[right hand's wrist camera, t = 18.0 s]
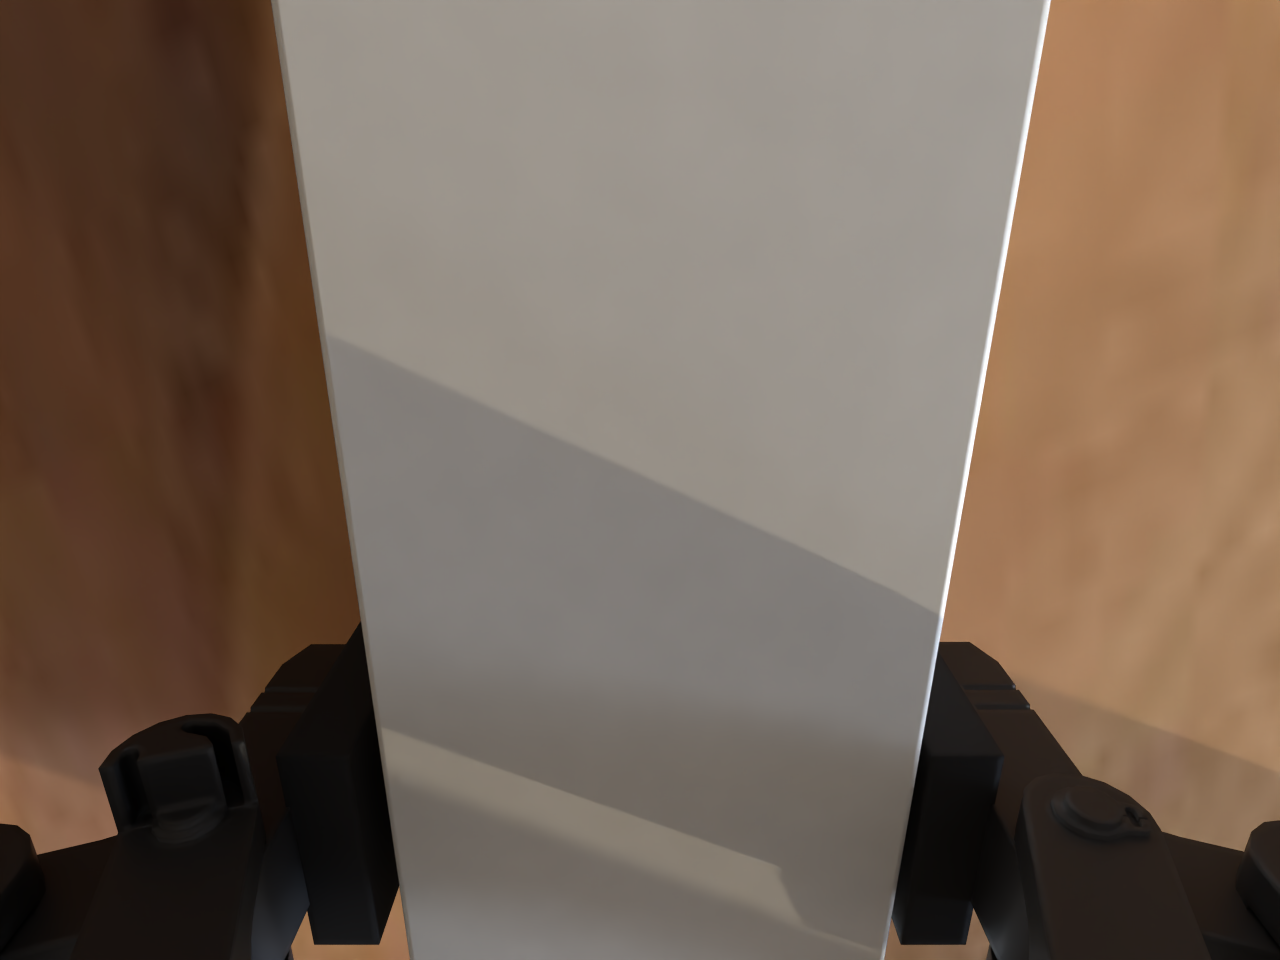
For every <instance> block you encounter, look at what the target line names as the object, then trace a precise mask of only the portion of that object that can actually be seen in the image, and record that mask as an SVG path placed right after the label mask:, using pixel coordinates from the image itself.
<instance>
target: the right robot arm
mask: <svg viewBox="0 0 1280 960" xmlns="http://www.w3.org/2000/svg"><path fill="white" fill-rule="evenodd" d="M99 772H100V775H101V778H102V781H103V785H104V788H105V791H106V794H107V797H108V801H109V804H110V807H111V810H112V814H113V817H114V820H115V823H116V827H117V830H118V835H116V836H113V837H109V838H106V839H103V840H99V841H95V842H91V843H86V844H82V845H78V846H73V847H69V848H65V849H60V850H56V851H52V852H47V853H43V854H39V855H37V854H36V851H35V848H34V845H33V843H32V840H31V837H30V835H29V834H28V833H26V832H25V831H24V830H23V829H21V828H20V827H19V826H17V825H9V824H0V960H294V958H293V954H292V949H291V945H292V942H293V940H294V938H295V936H296V934H297V931H298V929H299V927H300V925H301V923H302V920H303V918H304V916H305V914H306V912H308V917H309V921H310V926H311V931H312V936H313V941H314V945H379V943H380V940H381V938H382V935H383V932H384V929H385V926H386V923H387V920H388V917H389V914H390V911H391V908H392V905H393V902H394V899H395V896H396V894H397V891H398V888H399V879H398V872H397V865H396V858H395V851H394V845H393V838H392V831H391V824H390V817H389V810H388V803H387V796H386V789H385V782H384V776H383V769H382V762H381V755H380V748H379V741H378V734H377V727H376V720H375V714H374V707H373V700H372V693H371V686H370V679H369V672H368V665H367V658H366V651H365V645H364V638H363V631H362V624H361V622H360V623H359V625H358V626H357V628H356V630H355V631H354V633H353V634H352V636H351V638H350V639H349V641H348V642H347V644H311V645H310V646H308V647H307V648H305V649H304V650H302V651H301V652H300V653H298V654H297V655H295V656H294V657H292V658H291V659H290V660H288V661H287V662H285V663H284V664H282V666H281V667H280V668H279V670H278V671H277V672H276V674H275V675H274V677H273V678H272V679H271V681H270V682H269V683H268V685H267V686H266V687H265V693H261V694H260V696H259V697H258V698H257V700H256V701H255V702H254V704H253V705H252V706H251V711H250V712H247V713H246V715H245V716H244V717H243V719H242V720H241V721H240V723H239V724H238V723H237V722H235V721H234V720H233V719H232V718H230V717H226V716H221V715H216V714H196V715H185V716H182V717H178V718H174V719H171V720H167V721H163V722H160V723H157V724H155V725H153V726H151V727H149V728H147V729H145V730H143V731H141V732H138V733H136V734H134V735H132V736H131V737H130V738H128V739H127V740H126V741H124V742H123V743H122V744H120V745H119V746H118V747H116V748H115V749H114V750H112V751H111V753H110V754H109V755H108V757H107V758H106V759H105V761H104V762H103V763H102V765H101V766H100V767H99ZM973 908H974V910H975V912H976V914H977V916H978V919H979V921H980V923H981V925H982V927H983V930H984V932H985V934H986V936H987V938H988V940H989V943H990V945H989V949H988V954H987V958H986V960H1280V821H1270V822H1264V823H1262V824H1261V825H1260V826H1258V827H1257V828H1256V829H1254V830H1253V831H1252V832H1251V835H1250V837H1249V840H1248V843H1247V846H1246V848H1245V851H1244V852H1243V851H1238V850H1234V849H1230V848H1225V847H1221V846H1217V845H1212V844H1208V843H1204V842H1199V841H1195V840H1191V839H1186V838H1182V837H1178V836H1175V835H1172V834H1168V833H1165V832H1162V831H1161V829H1160V828H1159V826H1158V825H1157V823H1156V822H1155V820H1154V819H1153V817H1152V816H1151V814H1150V813H1149V812H1148V811H1147V810H1146V809H1144V808H1143V807H1142V806H1141V805H1140V804H1139V803H1137V802H1136V801H1135V800H1134V799H1133V798H1131V797H1130V796H1129V795H1127V794H1125V793H1123V792H1121V791H1120V790H1118V789H1116V788H1114V787H1112V786H1110V785H1108V784H1106V783H1104V782H1101V781H1098V780H1095V779H1091V778H1088V777H1085V776H1082V774H1081V773H1080V772H1079V770H1078V769H1077V768H1076V766H1075V765H1074V764H1073V762H1072V761H1071V760H1070V758H1069V757H1068V756H1067V754H1066V753H1065V752H1064V750H1063V749H1062V747H1061V746H1060V745H1059V743H1058V742H1057V741H1056V739H1055V738H1054V737H1053V735H1052V734H1051V733H1050V731H1049V730H1048V729H1047V727H1046V726H1045V725H1044V723H1043V722H1042V721H1041V719H1040V718H1039V716H1038V715H1037V714H1036V712H1035V711H1034V710H1030V704H1029V703H1028V702H1027V700H1026V699H1025V698H1024V696H1023V695H1022V694H1021V692H1020V691H1019V690H1016V688H1015V684H1014V683H1013V681H1012V680H1011V679H1010V677H1009V676H1008V675H1007V673H1006V672H1005V671H1004V669H1003V668H1002V667H1001V665H1000V664H999V663H998V662H997V661H996V660H994V659H993V658H992V657H990V656H989V655H987V654H986V653H984V652H983V651H982V650H980V649H979V648H977V647H976V646H974V645H973V644H971V643H970V642H939V646H938V652H937V657H936V663H935V669H934V675H933V680H932V686H931V692H930V698H929V703H928V709H927V715H926V721H925V726H924V732H923V738H922V744H921V749H920V755H919V761H918V767H917V772H916V778H915V784H914V790H913V796H912V801H911V807H910V813H909V819H908V824H907V830H906V836H905V842H904V847H903V853H902V859H901V865H900V870H899V876H898V882H897V888H896V893H895V899H894V905H893V911H892V916H891V917H892V920H893V923H894V926H895V929H896V932H897V935H898V937H899V940H900V943H901V945H966V941H967V936H968V931H969V926H970V921H971V917H972V912H973Z"/></svg>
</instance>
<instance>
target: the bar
mask: <svg viewBox="0 0 1280 960" xmlns="http://www.w3.org/2000/svg"><path fill="white" fill-rule="evenodd" d="M1050 1H1051V0H271V3H272V10H273V17H274V24H275V31H276V38H277V45H278V52H279V58H280V65H281V72H282V79H283V86H284V93H285V100H286V107H287V114H288V121H289V127H290V134H291V141H292V148H293V155H294V162H295V169H296V176H297V183H298V189H299V196H300V203H301V210H302V217H303V224H304V231H305V238H306V245H307V252H308V258H309V265H310V272H311V279H312V286H313V293H314V300H315V307H316V314H317V320H318V327H319V334H320V341H321V348H322V355H323V362H324V369H325V376H326V383H327V389H328V396H329V403H330V410H331V417H332V424H333V431H334V438H335V445H336V452H337V458H338V465H339V472H340V479H341V486H342V493H343V500H344V507H345V514H346V520H347V527H348V534H349V541H350V548H351V555H352V562H353V569H354V576H355V583H356V589H357V596H358V603H359V610H360V617H361V624H362V631H363V638H364V645H365V651H366V658H367V665H368V672H369V679H370V686H371V693H372V700H373V707H374V714H375V720H376V727H377V734H378V741H379V748H380V755H381V762H382V769H383V776H384V782H385V789H386V796H387V803H388V810H389V817H390V824H391V831H392V838H393V845H394V851H395V858H396V865H397V872H398V879H399V886H400V893H401V900H402V907H403V913H404V920H405V927H406V934H407V941H408V948H409V955H410V960H884V957H885V951H886V945H887V939H888V934H889V928H890V922H891V916H892V911H893V905H894V899H895V893H896V888H897V882H898V876H899V870H900V865H901V859H902V853H903V847H904V842H905V836H906V830H907V824H908V819H909V813H910V807H911V801H912V796H913V790H914V784H915V778H916V772H917V767H918V761H919V755H920V749H921V744H922V738H923V732H924V726H925V721H926V715H927V709H928V703H929V698H930V692H931V686H932V680H933V675H934V669H935V663H936V657H937V652H938V646H939V640H940V634H941V629H942V623H943V617H944V611H945V606H946V600H947V594H948V588H949V583H950V577H951V571H952V565H953V560H954V554H955V548H956V542H957V537H958V531H959V525H960V519H961V514H962V508H963V502H964V496H965V491H966V485H967V479H968V473H969V468H970V462H971V456H972V450H973V445H974V439H975V433H976V427H977V422H978V416H979V410H980V404H981V398H982V393H983V387H984V381H985V375H986V370H987V364H988V358H989V352H990V347H991V341H992V335H993V329H994V324H995V318H996V312H997V306H998V301H999V295H1000V289H1001V283H1002V278H1003V272H1004V266H1005V260H1006V255H1007V249H1008V243H1009V237H1010V232H1011V226H1012V220H1013V214H1014V209H1015V203H1016V197H1017V191H1018V186H1019V180H1020V174H1021V168H1022V163H1023V157H1024V151H1025V145H1026V140H1027V134H1028V128H1029V122H1030V117H1031V111H1032V105H1033V99H1034V94H1035V88H1036V82H1037V76H1038V71H1039V65H1040V59H1041V53H1042V48H1043V42H1044V36H1045V30H1046V25H1047V19H1048V13H1049V7H1050Z"/></svg>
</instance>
